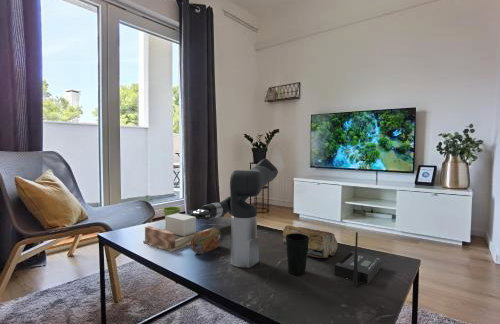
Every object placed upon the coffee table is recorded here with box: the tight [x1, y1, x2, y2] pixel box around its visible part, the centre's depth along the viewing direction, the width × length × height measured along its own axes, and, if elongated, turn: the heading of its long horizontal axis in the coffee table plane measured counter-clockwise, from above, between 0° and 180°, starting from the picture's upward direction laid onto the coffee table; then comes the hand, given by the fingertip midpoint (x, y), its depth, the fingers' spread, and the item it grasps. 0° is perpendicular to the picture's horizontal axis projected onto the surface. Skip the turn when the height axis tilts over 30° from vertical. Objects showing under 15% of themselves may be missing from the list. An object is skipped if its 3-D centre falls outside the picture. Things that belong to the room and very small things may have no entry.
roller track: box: [142, 225, 204, 253], centre depth 124 cm, size 18×21×7 cm
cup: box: [285, 233, 309, 277], centre depth 93 cm, size 8×8×12 cm
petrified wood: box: [282, 224, 338, 259], centre depth 112 cm, size 19×13×10 cm
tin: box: [190, 227, 223, 255], centre depth 112 cm, size 15×3×8 cm, turn 143°
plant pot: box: [162, 206, 181, 217], centre depth 149 cm, size 9×9×9 cm
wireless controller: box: [333, 231, 382, 288], centre depth 93 cm, size 20×14×17 cm
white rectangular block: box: [164, 212, 197, 236], centre depth 126 cm, size 12×7×7 cm, turn 56°
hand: (186, 217), depth 128 cm, fingers closed
